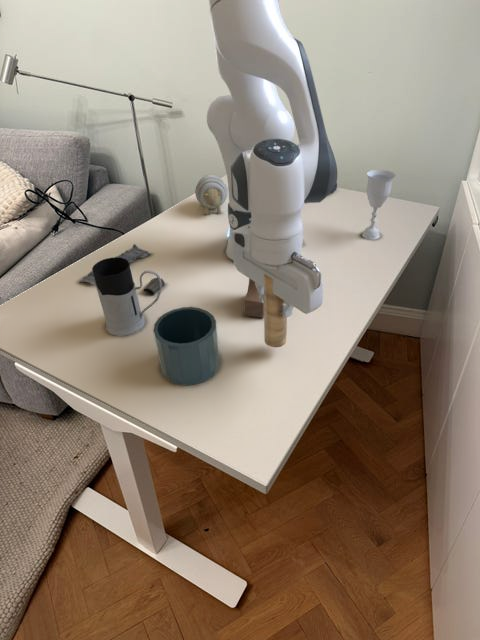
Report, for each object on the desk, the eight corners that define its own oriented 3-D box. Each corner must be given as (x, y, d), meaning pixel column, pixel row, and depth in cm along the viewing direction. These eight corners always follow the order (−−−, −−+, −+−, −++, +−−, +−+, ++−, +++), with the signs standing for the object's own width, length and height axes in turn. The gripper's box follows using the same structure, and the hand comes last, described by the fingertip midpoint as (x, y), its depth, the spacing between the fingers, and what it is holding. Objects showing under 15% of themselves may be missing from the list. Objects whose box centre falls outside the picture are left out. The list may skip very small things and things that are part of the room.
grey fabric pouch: (92, 289, 110) (90, 282, 109) (75, 280, 113) (73, 274, 112) (151, 255, 123) (150, 248, 122) (135, 248, 126) (133, 242, 125)
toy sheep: (199, 220, 139) (196, 187, 132) (194, 200, 152) (191, 168, 145) (232, 217, 140) (230, 183, 133) (224, 197, 153) (222, 165, 146)
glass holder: (111, 311, 102) (96, 256, 93) (171, 311, 101) (162, 255, 92) (100, 336, 95) (83, 278, 86) (165, 335, 95) (154, 277, 85)
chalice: (356, 238, 126) (364, 177, 114) (360, 228, 131) (369, 168, 119) (382, 242, 123) (393, 180, 112) (385, 232, 128) (396, 171, 117)
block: (143, 294, 107) (141, 288, 106) (154, 281, 112) (152, 275, 111) (156, 296, 106) (155, 290, 105) (166, 283, 111) (165, 277, 110)
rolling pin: (276, 330, 90) (276, 263, 80) (290, 340, 87) (293, 273, 77) (259, 339, 88) (258, 272, 78) (274, 350, 85) (275, 282, 75)
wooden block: (263, 318, 98) (263, 248, 87) (244, 315, 99) (241, 245, 88) (272, 296, 105) (273, 228, 93) (254, 293, 106) (253, 226, 95)
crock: (198, 337, 94) (193, 299, 87) (230, 366, 86) (228, 327, 80) (151, 361, 88) (142, 323, 82) (181, 394, 81) (174, 355, 75)
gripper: (335, 259, 69) (327, 327, 77) (252, 218, 82) (254, 280, 90) (306, 274, 66) (302, 342, 75) (225, 229, 79) (229, 291, 87)
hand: (275, 308), depth 82 cm, fingers closed on rolling pin, 4 cm apart
